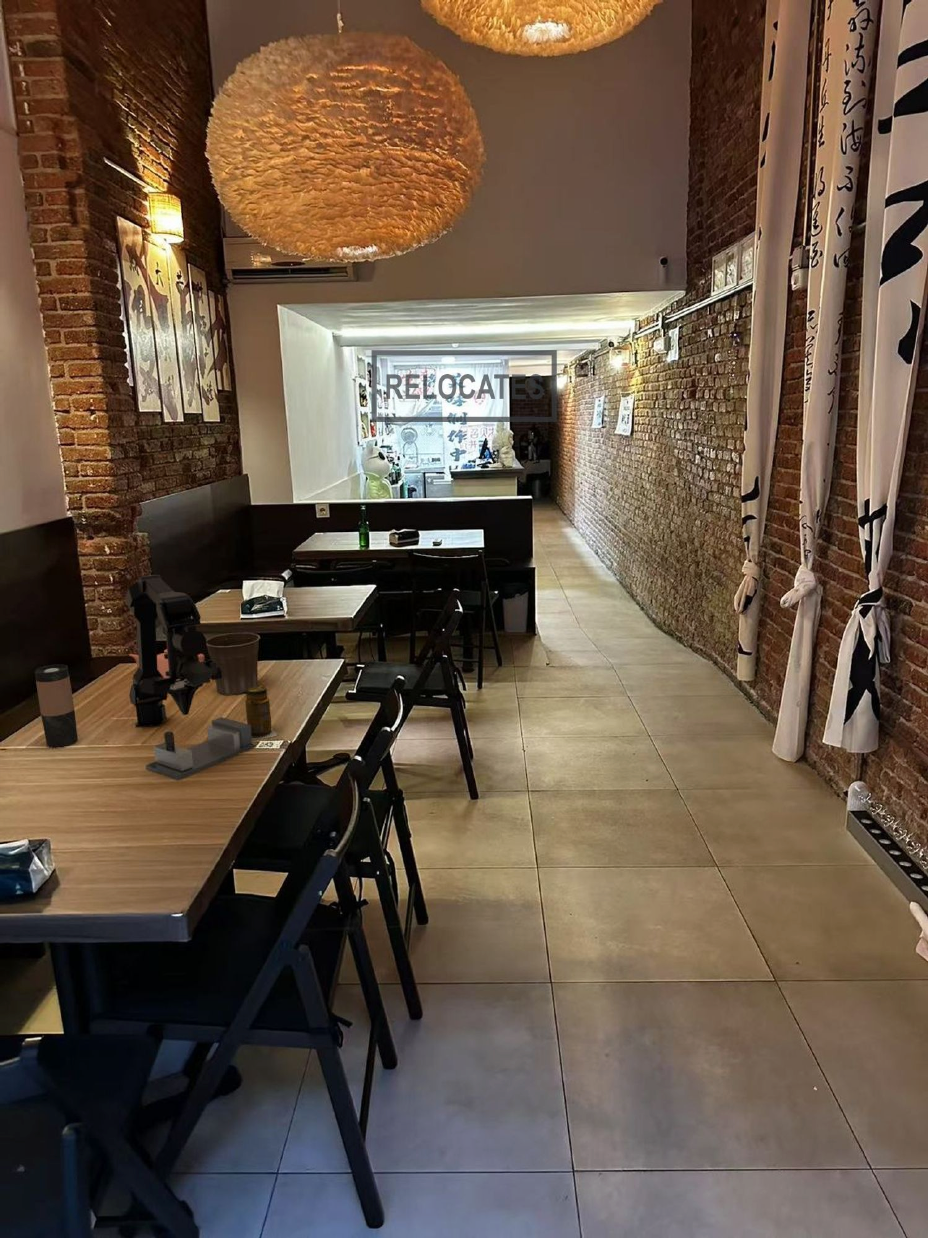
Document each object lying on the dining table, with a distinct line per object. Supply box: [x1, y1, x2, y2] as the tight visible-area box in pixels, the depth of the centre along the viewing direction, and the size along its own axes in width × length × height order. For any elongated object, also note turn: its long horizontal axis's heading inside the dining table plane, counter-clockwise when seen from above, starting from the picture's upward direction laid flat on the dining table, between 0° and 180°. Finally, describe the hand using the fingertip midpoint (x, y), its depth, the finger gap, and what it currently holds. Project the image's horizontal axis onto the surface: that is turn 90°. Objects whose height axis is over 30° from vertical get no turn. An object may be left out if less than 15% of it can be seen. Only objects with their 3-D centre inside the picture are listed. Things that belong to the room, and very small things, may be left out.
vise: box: [145, 716, 255, 781], centre depth 187 cm, size 22×12×6 cm, turn 146°
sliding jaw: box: [153, 730, 193, 771], centre depth 181 cm, size 3×10×8 cm, turn 56°
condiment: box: [245, 685, 278, 741], centre depth 202 cm, size 7×8×12 cm
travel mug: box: [34, 664, 78, 749], centre depth 198 cm, size 8×8×20 cm
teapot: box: [128, 648, 206, 680], centre depth 243 cm, size 22×15×12 cm
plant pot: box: [206, 632, 261, 695], centre depth 239 cm, size 16×16×16 cm
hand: (185, 714), depth 182 cm, fingers closed
